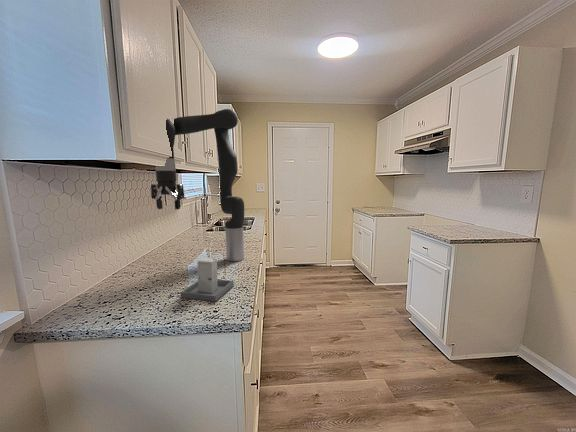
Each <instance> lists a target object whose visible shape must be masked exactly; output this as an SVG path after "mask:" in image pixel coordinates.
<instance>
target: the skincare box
mask: <svg viewBox="0 0 576 432" xmlns="http://www.w3.org/2000/svg"><path fill="white" fill-rule="evenodd" d="M217 279H218V258H211V257H202V258H200V259H198V260H197V281H198V291H199V292H205V293H213V292H214V291H216V290H217V289H218V287H217Z"/></svg>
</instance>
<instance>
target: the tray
mask: <svg viewBox="0 0 576 432" xmlns="http://www.w3.org/2000/svg"><path fill="white" fill-rule="evenodd" d="M234 285H235V283H234V280H229V279H220V278H219V279H218V278H217V287H218V289H217V290H216V291H214V292H213V293H205V292H199V291H198V280H196V281H195V282H194V283H192V284H190V285H189V286H187V287H186V288H185V289H183V290H182V291H180V294H179V295H180V299H181V300H182V299H183V300H190V301H198V302H205V303H206V302H207V303H215V304H216V303H217V302H219V301H220V300H221V299H222V298H223V297H224V296H226V294H227V293H229V292H230V291H231V290H232V289H233V288H234Z"/></svg>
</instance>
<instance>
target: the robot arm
mask: <svg viewBox="0 0 576 432" xmlns="http://www.w3.org/2000/svg"><path fill="white" fill-rule="evenodd" d="M166 119H167V120H166V130H167V135H168V138H169V142H170V147H171V151H172V157H169V158H167V160H166V163H165V166H161V167H160V166H159V167H158V166H156V167H154V168H155V178H156V182H157V184H156V183H155V184H154V183H153V184H151V185H150V196H151V197H150V198H151V199H154V200H155V201H156V208H157V210H163V200H162V199H163V197H164V196H166V195H167V196H169V195H170V196H171V197H172V198H173V199H174V209H175V210H180V208H181V207H182V206H181V201H182V199H185V191H184V184H182V183H178V184H177V183H176V182H177V170H176V162H175V152H174V151H175V150H174V148H175V147H174V145H175V140H176V139H175V138H176V136H178V135H180V136H181V135H189V134H195V133H200V132H203V131H207V130H213V129H214V134H215V135H214V136H215V141H216V150H217V151H216V152H217V161H218V162H217V163H218V169H219V170H218V171H219V181H220V182H219V183H220V209H221V211H222V212H223V213H224V214H227V215H231V218H230V219H229V220H228V221H225V223H224V228H225V230H224V231H225V233H224V234H225V249H226V253H225V254H226V256H225V257H226V261H228V262H239V261H242V260H244V259H245V245H244V244H245V240H244V223H245V201H244V200H243V198H242V197H241V196H233V193H232V190H233V189H232V188H233V185H234V184H233V183H234V181H235V179H236V177H237V174H238V170H239V169H238V158H237V154H236V152H235V150H234V148H233V146H232V144H231V142H230V141H231V140H230V135H229V130H232V129H234V128H235V127H237V125H238V122H239V117H238V115H237V113H236V112H235V111H234V110H233V109H230V108H225V109H224V108H223V109H221V110H217V111H215V112H213V113H208V114H200V115H199V114H198V115H187V116H179V117H175V118H173V119H174V124H173V123H172V122H171V121H170V119H168V118H166Z"/></svg>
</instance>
